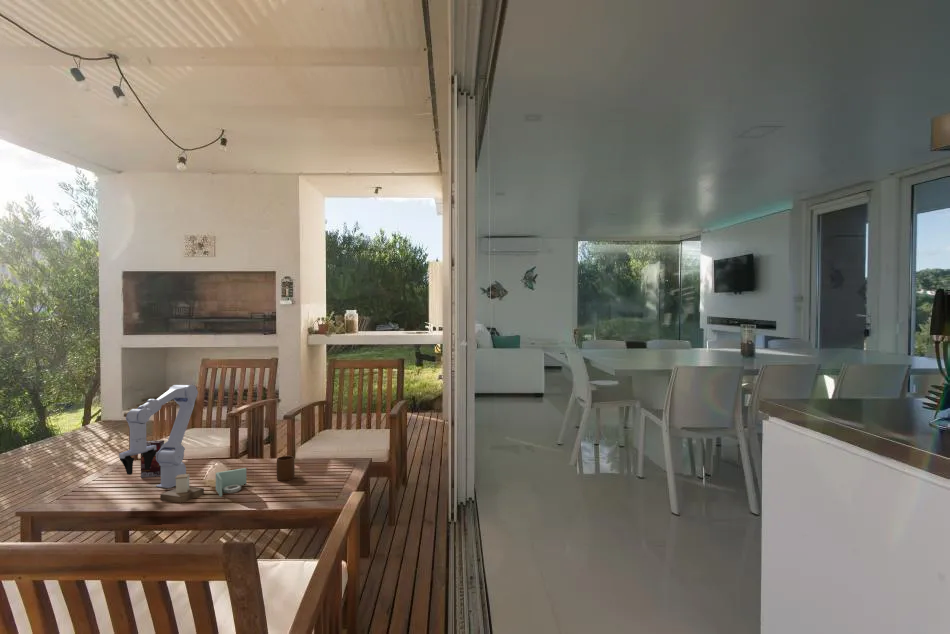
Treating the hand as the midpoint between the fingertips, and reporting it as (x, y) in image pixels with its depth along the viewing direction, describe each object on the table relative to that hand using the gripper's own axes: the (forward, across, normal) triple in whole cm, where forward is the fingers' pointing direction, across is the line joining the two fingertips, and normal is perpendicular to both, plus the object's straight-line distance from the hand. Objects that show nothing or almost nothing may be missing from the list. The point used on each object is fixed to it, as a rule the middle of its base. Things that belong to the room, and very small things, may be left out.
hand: (138, 471), depth 214 cm
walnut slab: (+11, -6, +17) cm, 21 cm away
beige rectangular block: (+8, -6, +17) cm, 20 cm away
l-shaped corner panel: (+11, -19, +30) cm, 38 cm away
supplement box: (+11, -24, -23) cm, 35 cm away
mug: (+11, -41, +40) cm, 58 cm away
